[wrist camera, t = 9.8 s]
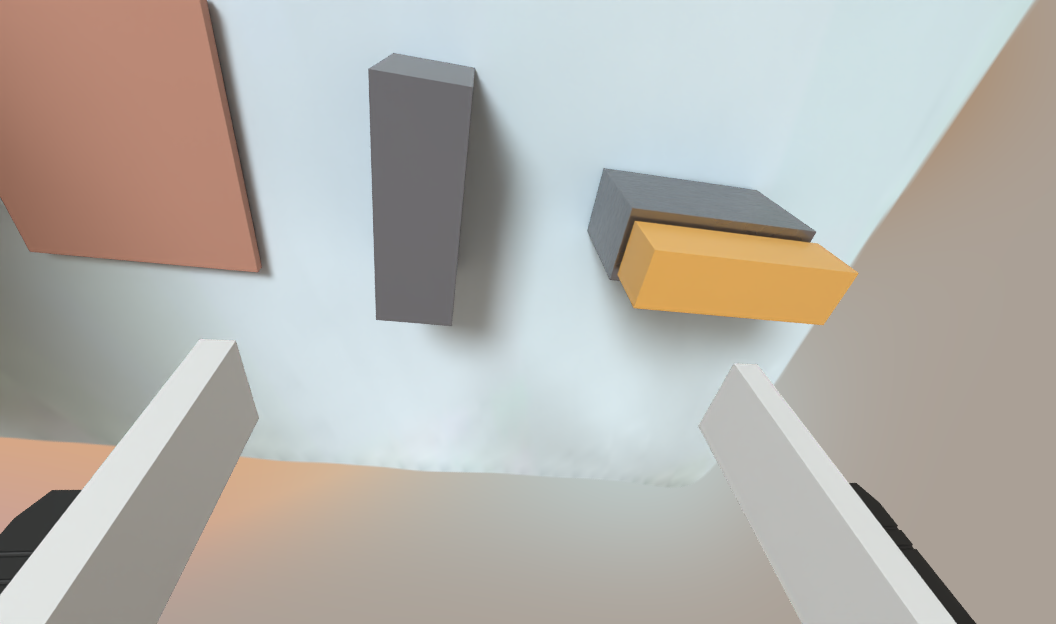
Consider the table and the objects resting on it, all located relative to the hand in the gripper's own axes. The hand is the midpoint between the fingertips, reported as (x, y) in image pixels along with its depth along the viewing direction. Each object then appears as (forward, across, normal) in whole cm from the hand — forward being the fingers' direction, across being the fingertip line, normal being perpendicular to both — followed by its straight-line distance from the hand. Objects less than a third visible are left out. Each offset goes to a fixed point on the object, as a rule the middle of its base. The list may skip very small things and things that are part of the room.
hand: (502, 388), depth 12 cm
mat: (+17, -19, 0) cm, 26 cm away
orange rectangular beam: (+10, +12, 0) cm, 16 cm away
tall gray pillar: (+17, -3, 0) cm, 17 cm away
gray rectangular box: (+16, +12, 0) cm, 20 cm away
